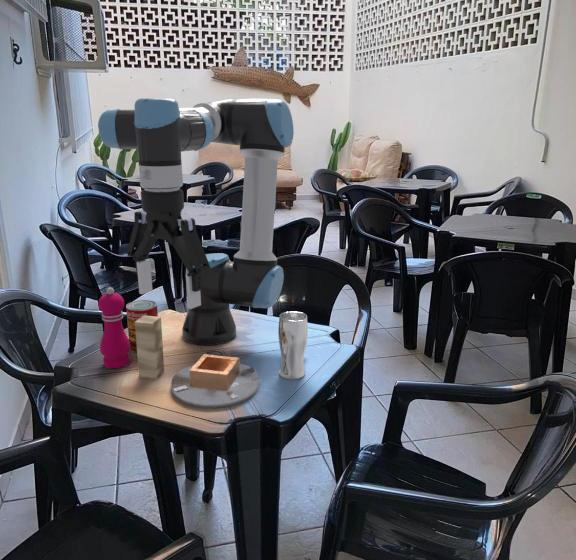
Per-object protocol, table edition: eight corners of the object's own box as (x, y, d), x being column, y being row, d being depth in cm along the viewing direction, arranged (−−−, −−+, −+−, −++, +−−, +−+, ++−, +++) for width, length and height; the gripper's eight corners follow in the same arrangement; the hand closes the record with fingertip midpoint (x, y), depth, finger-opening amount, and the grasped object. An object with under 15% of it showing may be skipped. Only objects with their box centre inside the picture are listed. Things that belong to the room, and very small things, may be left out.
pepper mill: (95, 366, 131) (87, 289, 125) (116, 355, 137) (109, 281, 131) (117, 372, 128) (110, 294, 122) (137, 360, 134) (132, 285, 128)
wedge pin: (147, 368, 130) (143, 315, 126) (164, 370, 129) (160, 317, 125) (139, 376, 126) (134, 321, 122) (156, 378, 125) (152, 323, 121)
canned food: (123, 348, 141) (119, 306, 137) (144, 338, 147) (141, 298, 144) (144, 355, 137) (141, 312, 134) (165, 344, 144) (163, 303, 140)
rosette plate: (191, 362, 133) (190, 342, 132) (268, 371, 129) (268, 350, 128) (156, 401, 115) (154, 379, 113) (244, 413, 111) (244, 389, 109)
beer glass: (290, 365, 133) (291, 309, 128) (312, 373, 129) (314, 315, 124) (272, 374, 128) (272, 316, 123) (294, 383, 123) (295, 323, 119)
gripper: (101, 184, 99) (112, 291, 106) (196, 198, 85) (201, 319, 92) (133, 180, 105) (142, 282, 111) (227, 192, 91) (230, 307, 98)
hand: (169, 299), depth 102 cm, fingers open, 13 cm apart
